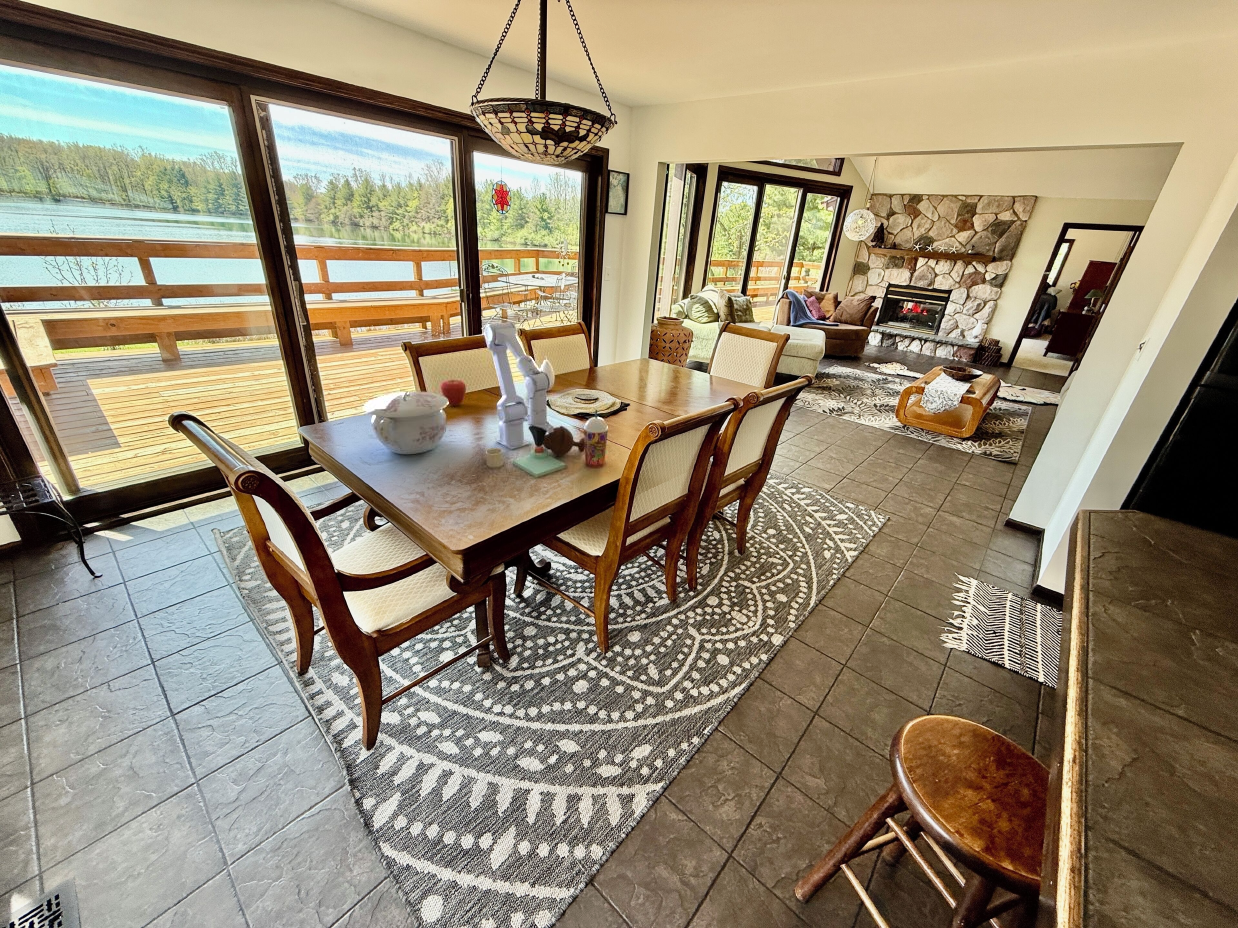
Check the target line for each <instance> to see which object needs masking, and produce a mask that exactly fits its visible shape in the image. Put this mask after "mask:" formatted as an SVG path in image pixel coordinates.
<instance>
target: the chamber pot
mask: <svg viewBox="0 0 1238 928" xmlns="http://www.w3.org/2000/svg"><path fill="white" fill-rule="evenodd" d="M448 403H449V401H448V399H447V398H446V397H444V396H443V394H439V393H436V392H429V391H419V390H418V391H417V390H416V391H412V390H411V391H410V390H409V391H408V390H407V391H399V392H392V393H387V394H383V395H379V396H377V397H375V398H372V399H370V400H368V401H367V402H366V403H364V406H363V411H365V412H366V413H367V414H369V415H371V419H370V423H371V429H372V431H373V434H374V435H375V438H376V439H377V440H378V441H379V442H380V443H381V444H382V445H383V446H384V447H385V448H386V449H387V450H388V451H390V452H391V453H394V454H400V455H417V454H422V453H425V452H428V451H432V450H433V449H435V448H436V447H437V446H438V445H439V444H440V443H441V441H442V439H443V437H444V436H445V434H446V431H447V422H448V421H447V414H446V411H445V410H444V409H445V408H446V407H447V406H448V405H449V404H448Z"/></svg>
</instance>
